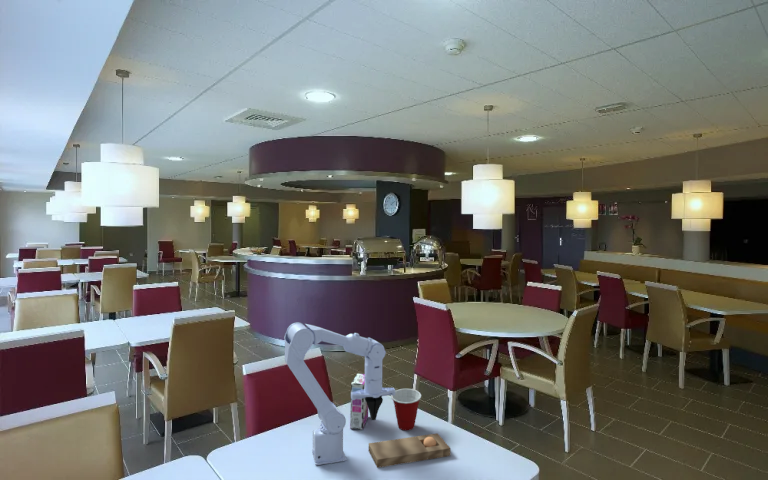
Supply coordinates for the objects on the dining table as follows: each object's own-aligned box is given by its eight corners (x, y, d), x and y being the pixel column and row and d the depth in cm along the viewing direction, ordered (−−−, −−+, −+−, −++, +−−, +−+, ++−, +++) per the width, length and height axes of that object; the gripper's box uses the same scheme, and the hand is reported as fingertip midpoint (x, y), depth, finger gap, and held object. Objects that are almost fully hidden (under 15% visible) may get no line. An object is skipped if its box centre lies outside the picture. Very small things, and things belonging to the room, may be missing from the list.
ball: (431, 455, 138) (423, 446, 137) (426, 449, 142) (419, 440, 141) (440, 445, 139) (432, 437, 138) (435, 440, 143) (428, 431, 142)
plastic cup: (385, 429, 153) (385, 396, 153) (398, 417, 163) (399, 386, 162) (413, 437, 148) (413, 402, 148) (425, 424, 158) (426, 391, 157)
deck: (377, 467, 130) (377, 459, 130) (368, 450, 139) (368, 443, 139) (450, 455, 137) (450, 448, 136) (437, 440, 146) (437, 433, 146)
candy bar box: (363, 430, 153) (364, 384, 152) (349, 429, 154) (350, 383, 153) (369, 416, 164) (369, 373, 163) (356, 415, 165) (356, 372, 164)
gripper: (354, 384, 135) (354, 427, 135) (398, 379, 139) (398, 421, 140) (349, 376, 142) (349, 417, 142) (391, 372, 146) (391, 412, 146)
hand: (373, 418), depth 141 cm, fingers closed
